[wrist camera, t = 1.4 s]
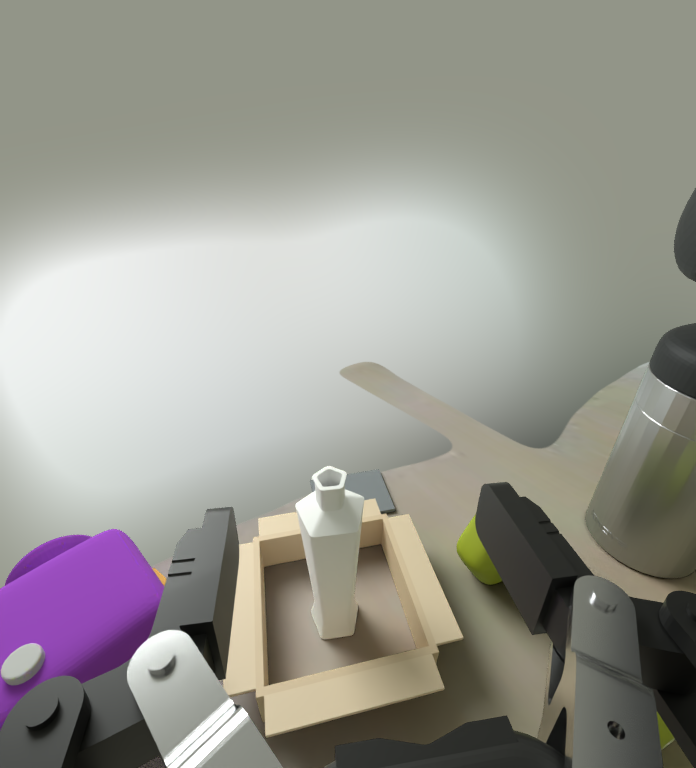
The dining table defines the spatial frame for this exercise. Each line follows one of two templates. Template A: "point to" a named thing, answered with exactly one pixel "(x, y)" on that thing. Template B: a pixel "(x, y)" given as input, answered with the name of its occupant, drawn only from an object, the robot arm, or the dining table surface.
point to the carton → (350, 683)
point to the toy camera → (74, 611)
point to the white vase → (332, 550)
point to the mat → (368, 488)
